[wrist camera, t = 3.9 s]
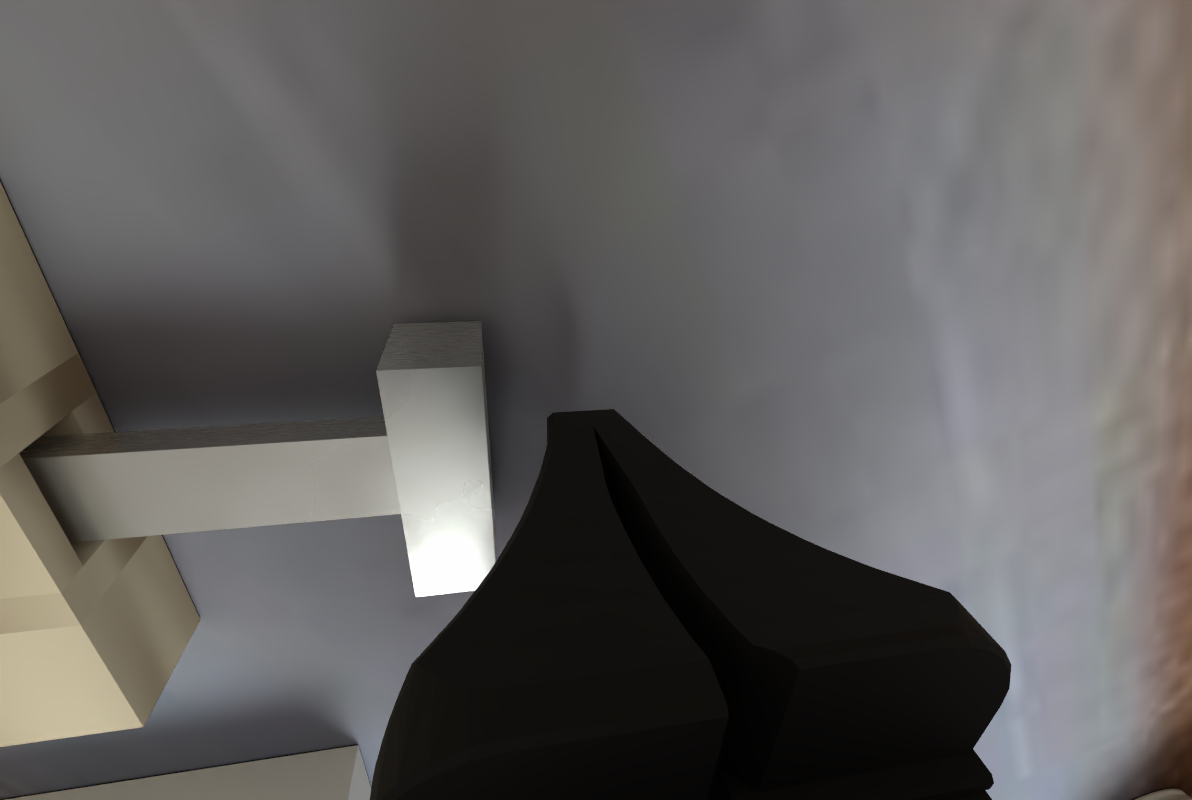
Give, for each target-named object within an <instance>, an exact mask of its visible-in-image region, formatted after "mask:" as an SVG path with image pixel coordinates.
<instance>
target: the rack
mask: <svg viewBox="0 0 1192 800" xmlns="http://www.w3.org/2000/svg"><path fill="white" fill-rule="evenodd" d="M370 794H371V786H370V783H369V779H368V776H367V773H366V769H365V766H364V763H363V760H362V756H361V753H360V750H359V746H358V745H356V746H349V747H343V748H336V749H330V750H323V751H317V752H310V753H304V754H297V755H291V756H284V757H278V758H271V759H265V760H258V761H252V762H245V763H239V764H232V765H226V766H219V767H213V768H206V769H200V770H193V771H187V772H180V773H174V774H168V775H161V776H155V777H148V778H142V779H135V780H129V781H122V782H116V783H109V784H103V785H96V786H90V787H83V788H77V789H70V790H64V791H57V792H51V793H44V794H38V795H31V796H25V797H18V798H12V799H5V800H370Z"/></svg>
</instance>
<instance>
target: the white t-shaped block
mask: <svg viewBox="0 0 1192 800" xmlns="http://www.w3.org/2000/svg"><path fill="white" fill-rule="evenodd" d="M376 374H377V379H378V385H379V391H380V396H381V402H382V408H383V414H384V417H367V418H350V419H333V420H315V421H298V422H281V423H263V424H246V425H229V426H211V427H194V428H177V429H160V430H142V431H125V432H108V433H90V434H73V435H56V436H40V437H39V438H37V439H36V440H35V441H34V442H32V443H31V444H30V445H29V446H27V447H26V448H25V449H23V450H22V451H21V452H20V453H19V454H20V456H21V458H22V459H23V461H24V463H25V465H26V466H27V468H28V470H29V472H30V473H31V475H32V477H33V479H34V480H35V482H36V484H37V486H38V487H39V489H40V491H41V493H42V495H43V496H44V498H45V500H46V502H47V503H48V505H49V507H50V509H51V510H52V512H53V514H54V516H55V517H56V519H57V521H58V523H59V524H60V526H61V528H62V530H63V532H64V533H65V535H66V537H67V539H68V540H69V542H70V543H73V542H85V541H96V540H108V539H119V538H131V537H142V536H154V535H165V534H176V533H188V532H199V531H211V530H222V529H234V528H245V527H257V526H268V525H280V524H291V523H303V522H314V521H326V520H337V519H349V518H360V517H372V516H383V515H395V514H401V516H402V522H403V528H404V534H405V539H406V545H407V551H408V556H409V562H410V568H411V574H412V579H413V585H414V591H415V596H416V597H422V596H431V595H439V594H448V593H457V592H466V591H475V590H476V589H477V588H478V586H479V585H480V584H481V582H482V581H483V580H484V578H485V577H486V576H487V574H488V573H489V572H490V570H491V569H492V567H493V566H494V564H495V563H496V530H495V511H494V497H493V482H492V468H491V453H490V439H489V424H488V410H487V395H486V381H485V366H484V352H483V337H482V323H481V321H471V322H438V323H405V324H393V327H392V330H391V332H390V335H389V338H388V340H387V343H386V346H385V348H384V351H383V354H382V356H381V359H380V362H379V364H378V367H377V370H376Z"/></svg>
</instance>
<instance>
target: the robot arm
mask: <svg viewBox="0 0 1192 800" xmlns="http://www.w3.org/2000/svg"><path fill="white" fill-rule="evenodd" d="M1010 673H1011V663H1010V661H1009V659H1008V657H1007V655H1006V653H1005V651H1004V650H1003V649H1002V648H1001V647H1000V645H999V644H998V643H997V642H996V641H995V640H994V639H993V638H992V637H991V636H990V635H989V634H988V633H987V632H986V630H985V629H984V628H983V627H982V626H981V625H980V624H979V623H978V622H977V621H976V620H975V619H974V618H973V616H972V615H971V614H970V613H969V612H968V611H967V610H966V609H965V608H964V607H963V606H962V605H961V604H960V602H959V601H958V600H957V599H956V598H955V597H954V596H953V595H952V594H951V593H950V592H947V591H944V590H940V589H937V588H934V587H931V586H928V585H925V584H922V583H919V582H916V581H913V580H909V579H906V578H903V577H900V576H897V575H894V574H891V573H888V572H885V571H882V570H878V569H876V568H873V567H870V566H867V565H865V564H862V563H860V562H857V561H855V560H852V559H849V558H847V557H844V556H842V555H839V554H837V553H834V552H832V551H829V550H827V549H825V548H822V547H820V546H818V545H815V544H813V543H811V542H808V541H806V540H804V539H802V538H800V537H798V536H796V535H794V534H791V533H789V532H787V531H785V530H783V529H781V528H779V527H777V526H775V525H773V524H771V523H769V522H767V521H765V520H763V519H762V518H760V517H758V516H756V515H754V514H752V513H750V512H749V511H747V510H745V509H744V508H742V507H740V506H739V505H737V504H735V503H734V502H732V501H730V500H729V499H727V498H725V497H724V496H722V495H720V494H719V493H717V492H716V491H714V490H713V489H711V488H710V487H708V486H707V485H705V484H704V483H703V482H701V481H700V480H698V479H697V478H696V477H694V476H693V475H691V474H690V473H689V472H687V471H686V470H685V469H683V468H682V467H681V466H679V465H678V464H677V463H675V462H674V461H673V460H672V459H670V458H669V457H668V456H667V455H665V454H664V453H663V452H662V451H661V450H659V449H658V448H657V447H656V446H655V445H653V444H652V443H651V442H650V441H649V440H648V439H647V438H645V437H644V436H643V435H642V434H641V433H640V432H639V431H637V430H636V429H635V428H634V427H633V426H632V425H631V424H630V423H629V422H627V421H626V420H625V419H624V418H623V417H622V416H621V415H620V414H619V413H617V412H616V411H615V410H614V409H610V410H592V411H574V412H556V413H552V414H551V415H550V416H549V417H548V418H547V449H546V453H545V456H544V460H543V464H542V467H541V471H540V474H539V477H538V479H537V482H536V485H535V487H534V490H533V492H532V495H531V498H530V500H529V502H528V505H527V507H526V509H525V511H524V513H523V515H522V517H521V519H520V521H519V523H518V525H517V527H516V529H515V531H514V533H513V535H512V536H511V538H510V540H509V541H508V543H507V545H506V546H505V548H504V550H503V551H502V553H501V555H500V556H499V558H498V560H497V561H496V563H495V564H494V566H493V567H492V569H491V570H490V572H489V573H488V574H487V576H486V577H485V578H484V580H483V581H482V582H481V584H480V585H479V586H478V588H477V589H476V590H475V592H474V593H473V594H472V596H471V597H470V598H469V600H468V601H467V602H466V604H465V605H464V606H463V608H462V609H461V610H460V611H459V612H458V614H457V615H456V616H455V617H454V618H453V620H452V621H451V622H450V623H449V624H448V625H447V626H446V627H445V628H444V630H443V631H442V632H441V633H440V634H439V635H438V636H437V637H436V638H435V639H434V640H433V642H432V643H431V644H430V645H429V646H428V647H427V648H426V649H425V650H424V651H423V652H422V654H421V655H420V656H419V657H418V658H417V659H416V660H415V661H414V662H413V663H412V665H411V667H410V669H409V672H408V674H407V676H406V679H405V681H404V683H403V686H402V688H401V691H400V693H399V695H398V698H397V700H396V703H395V706H394V708H393V711H392V714H391V716H390V719H389V722H388V725H387V728H386V731H385V734H384V737H383V741H382V744H381V748H380V752H379V755H378V759H377V762H376V766H375V771H374V776H373V782H372V788H371V794H370V800H992V799H991V798H990V796H989V795H988V793H987V792H986V791H985V790H987V789H990V788H991V786H992V785H993V784H994V782H993V778H992V774H991V773H990V771H989V770H988V769H987V767H986V766H985V765H984V763H983V762H982V761H981V759H980V758H979V757H978V755H977V754H976V753H975V751H974V750H973V748H974V746H975V745H976V743H977V742H978V740H979V738H980V737H981V735H982V734H983V732H984V731H985V729H986V728H987V726H988V725H989V723H990V722H991V720H992V718H993V717H994V715H995V714H996V712H997V711H998V709H999V708H1000V706H1001V704H1002V702H1003V700H1004V698H1005V696H1006V694H1007V692H1008V690H1009V685H1010ZM1189 800H1192V799H1189Z"/></svg>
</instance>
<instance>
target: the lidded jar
mask: <svg viewBox="0 0 1192 800" xmlns="http://www.w3.org/2000/svg"><path fill="white" fill-rule="evenodd" d="M1189 799H1192V797H1189V796H1187V795H1186V794H1185V793H1184V792H1183V791H1182V790H1180V789H1164V790H1159V791H1156V792H1152V793H1149V794H1146V795H1144V796H1141V797H1139V798H1136V799H1134V800H1189Z"/></svg>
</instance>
